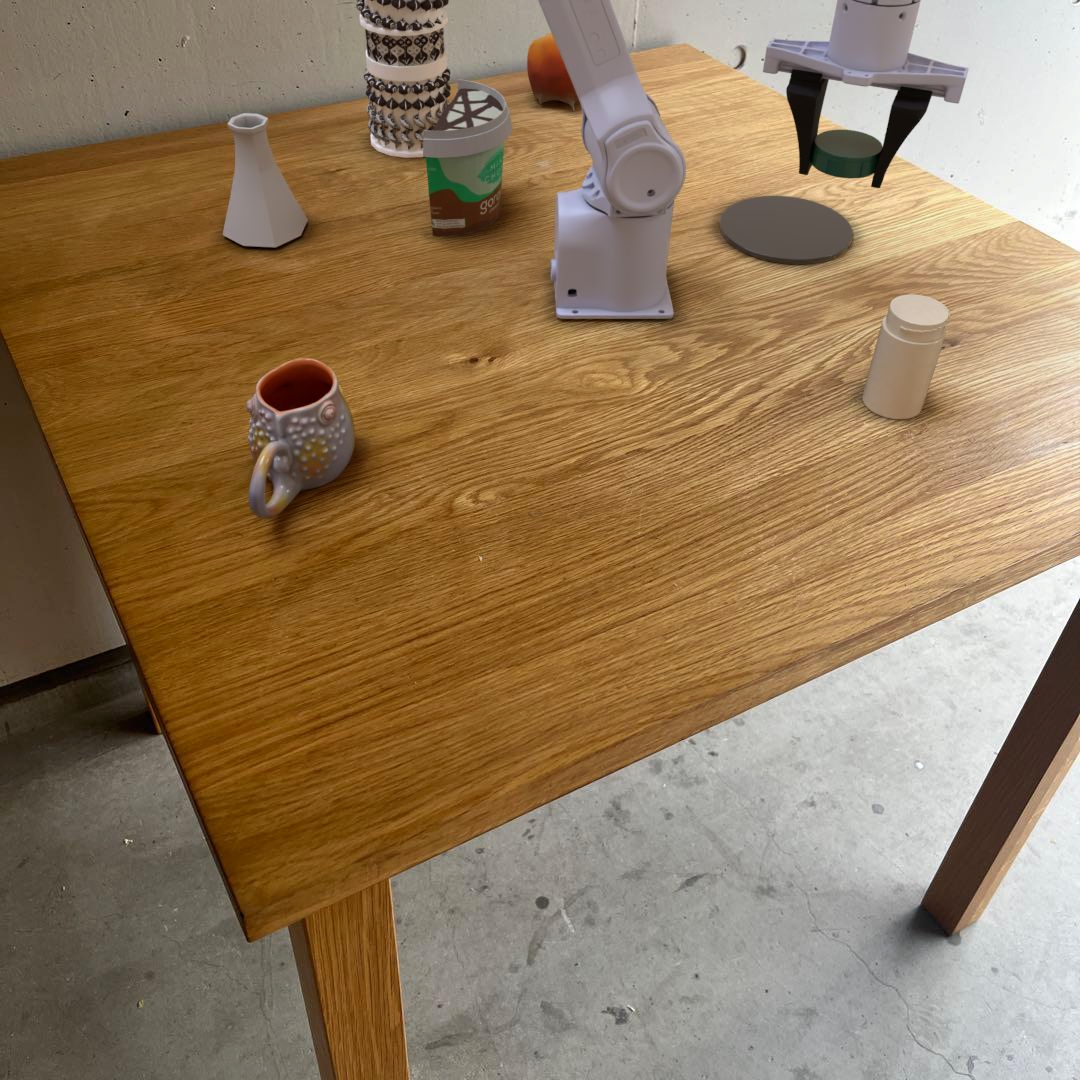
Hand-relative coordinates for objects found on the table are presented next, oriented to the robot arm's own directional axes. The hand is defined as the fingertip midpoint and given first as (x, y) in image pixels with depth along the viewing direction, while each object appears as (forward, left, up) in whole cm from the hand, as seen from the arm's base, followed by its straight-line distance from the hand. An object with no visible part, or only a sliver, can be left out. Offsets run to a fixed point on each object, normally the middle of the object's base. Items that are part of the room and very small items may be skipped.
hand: (840, 175), depth 87 cm
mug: (-41, -26, -10) cm, 50 cm away
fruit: (-20, +39, -10) cm, 45 cm away
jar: (+2, -17, -10) cm, 20 cm away
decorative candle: (-36, +28, -10) cm, 47 cm away
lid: (0, 0, +2) cm, 2 cm away
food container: (-29, +12, -10) cm, 33 cm away
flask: (-48, +9, -10) cm, 50 cm away
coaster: (-1, +9, -10) cm, 13 cm away
